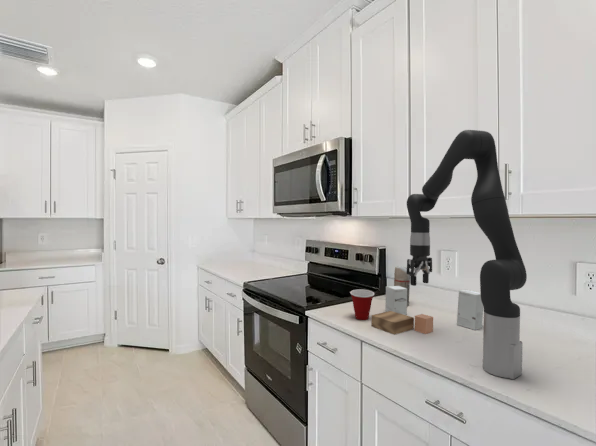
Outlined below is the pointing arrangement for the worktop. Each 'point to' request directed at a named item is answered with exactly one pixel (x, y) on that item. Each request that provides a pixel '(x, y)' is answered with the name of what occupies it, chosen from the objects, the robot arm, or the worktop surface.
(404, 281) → the spray can
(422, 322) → the terracotta block
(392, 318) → the walnut box
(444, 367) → the worktop surface
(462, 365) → the worktop surface
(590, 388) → the worktop surface
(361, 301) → the plastic cup
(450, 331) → the worktop surface
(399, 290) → the supplement box
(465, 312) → the skincare box
